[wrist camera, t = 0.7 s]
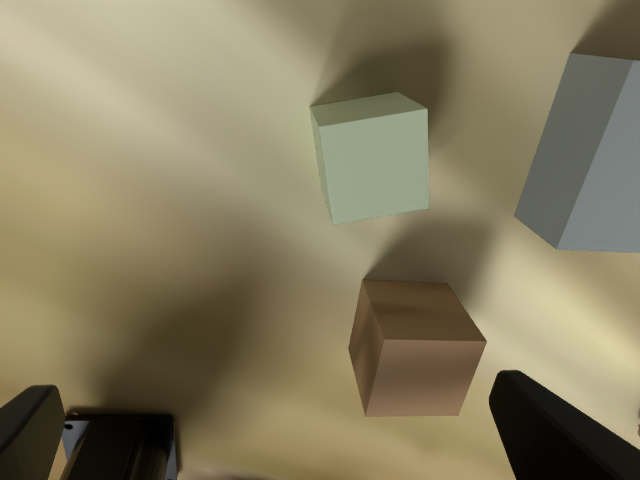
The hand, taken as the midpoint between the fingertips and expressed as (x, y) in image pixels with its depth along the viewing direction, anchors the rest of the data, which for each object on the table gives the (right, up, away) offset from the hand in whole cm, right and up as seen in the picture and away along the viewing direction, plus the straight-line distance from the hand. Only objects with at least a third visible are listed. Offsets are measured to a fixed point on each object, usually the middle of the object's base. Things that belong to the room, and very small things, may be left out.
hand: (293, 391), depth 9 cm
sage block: (+2, +8, +11) cm, 14 cm away
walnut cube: (+5, -1, +16) cm, 17 cm away
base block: (+15, +8, +13) cm, 21 cm away
